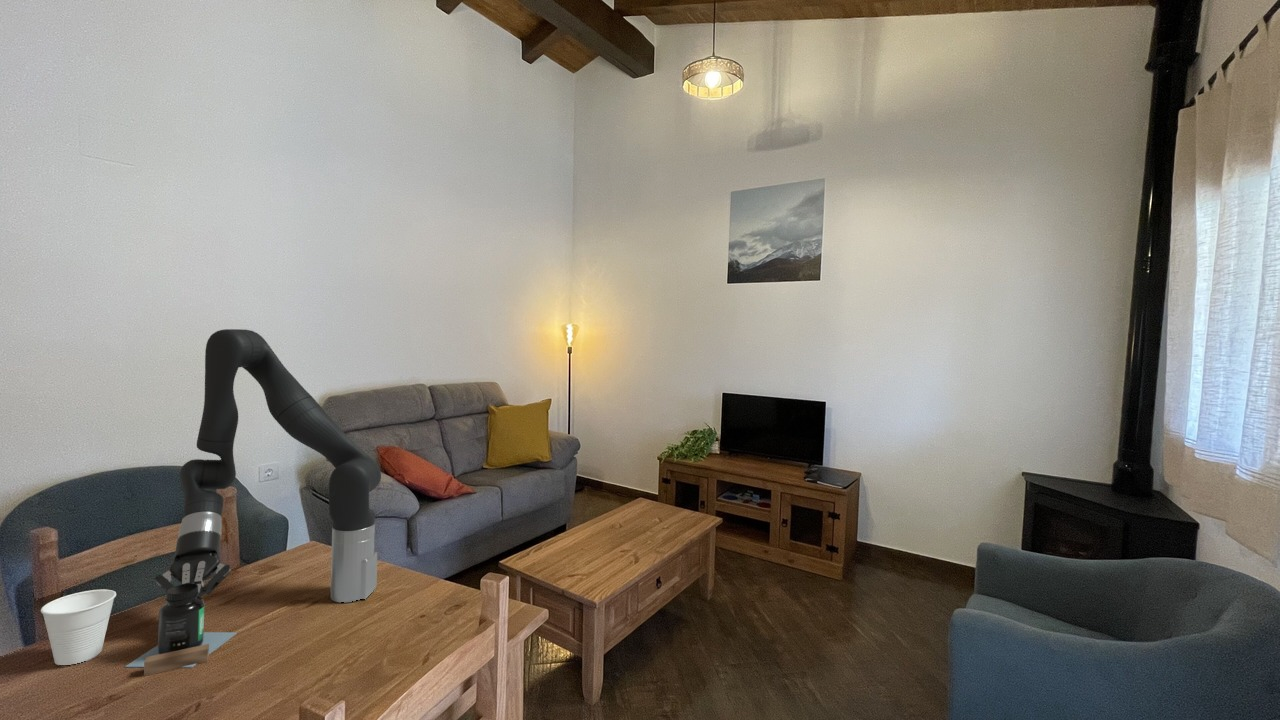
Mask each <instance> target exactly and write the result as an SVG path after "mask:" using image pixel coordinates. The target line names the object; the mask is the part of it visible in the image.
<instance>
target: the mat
mask: <svg viewBox="0 0 1280 720" xmlns="http://www.w3.org/2000/svg"><path fill="white" fill-rule="evenodd" d="M237 634H238V632H231V631H230V632H228V631H227V632H225V631H224V632H223V631H222V632H218V631H217V632H214V631H213V632H211V631H210V632H206V631H204V638H203V643H202V645H206V644H209V655H210V654H212V653H213V652H214V651H216V650H217V649H219V648H220V647H221V646H223V645H224V644H225V643H226V642H227V641H229V640H231V639H232V638H233V637H234V636H235V635H237ZM154 655H159V653H158V644H157V645H155V646H154V647H152V648H151V649H150V650H148V651H146V652H145V653H143V654H142V655H140V656H138V657H137V658H136V659H134V660H132V661H131V662H130V663H128V664H127V665H125V666H124V668H144V662H145V660H146V658H147V657H149V656H154ZM196 665H197V664H192V665H187V666H183V667H182V668H184V669H186V668H187V669H188V668H190V669H192V668H193V667H194V666H196ZM182 668H181V669H182Z"/></svg>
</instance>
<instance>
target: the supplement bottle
mask: <svg viewBox="0 0 1280 720" xmlns="http://www.w3.org/2000/svg"><path fill="white" fill-rule="evenodd" d="M165 593H166V594H165V599H164V600H165V604H163V605H162V606H161V608H160V609H159V612H158V628H157V629H158V633H157V635H158V636H157V638H158V639H157V645H158V653H159V654H164V653H168V652H173V651H178V650H182V649H187V648H192V647H196V646H201V645H202V643H203V638H204V632H205V631H204V630H205V600H204V599H203V598H202V597H197V596H198V594H199V592H198V585H197V584H194V583H191V584H183V585H182V584H178V585H176V586H174V587H173V588H171V589H169V590H168V591H167V592H165Z"/></svg>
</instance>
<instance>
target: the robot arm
mask: <svg viewBox="0 0 1280 720" xmlns="http://www.w3.org/2000/svg"><path fill="white" fill-rule="evenodd" d="M204 353H205V354H204V402H203V409H202V415H201V420H200V425H199V429H198V435H197V440H196V448H197V450H200V451H201V452H205V453H209V454H213V455H215V456H218V457H219V458H220V459H199V458H197V459H196V458H195V459H190V460H188V461H186V462H185V463H184V464H183V465H182V467H181V468H180V471H179V482H180V486H181V489H182V492H183V498H184V500H183V501H184V506H183V514H182V518H181V523H180V525H179V529H178V533H177V540H176V546H175V552H174V558H173V562H172V564H171V565H170V566H169V569H168V570H166V572H164V573H163V574H158V575H156V576H155V577H154V579H155V583H156V585H157V586H158V587H159V588H161V590H163V591H164V592H165V593H166V592H167V591H168V590H169V589H171V588H173V587H175V586H174V585H173V584H172V583H171V582H172V576H173V578H174V579H175V580H176V581H177V582H178V583H179V584H180V585H183V584H197V585H198V592H199V594H198V596H197V597H200V598H202V597H203V596H205V595H210V594H211V593H212V592H213V591H214V590H215V589H216V588H217V587H218V586H220V584H221V583H222V582H223V581H224V580H225V579H226V578H227V577H228V576H229V575H230V573H232V571H231V570H232V569H231V566H230V565H229V564H224V563H221V559H220V558H219V556H220V555H219V553H220V546H221V538H222V528H223V527H222V526H223V525H222V515H223V507H224V497H223V496H222V495H221V494H220V493H218V492H214V491H210V490H225V489H227V488H229V487H230V486H231V485H232V484H233V483H234V482H235V480H236V477H237V471H236V465H235V458H234V443H235V438H236V433H237V431H238V429H237V428H238V424H239V410H238V409H239V408H238V405H237V402H236V399H235V393H234V385H235V384H234V383H235V380H236V379H235V378H236V377H237V376H236V375H237V374H238V373H237V372H238V370H239V368H242V369H243V370H245V371H246V372H248V373H249V375H251V377H253V379H254V380H255V381H256V382H257V383H258V384H259V385H260V387H261V389H262V391H263V394H264V397H265V400H266V401H265V402H266V405H267V407H268V412H270V415H271V416H272V417H273V419H274V421H276V422H277V424H279V426H280V427H281V428H282V429H283V430H284V431H285V432H286V433H287V434H288V435H289V436H290V437H292V438H293V439H294V440H296V441H297V442H299V443H301V444H302V445H304V446H307V447H308V448H309V449H312V450H314V451H316V452H317V453H319V454H320V455H322V456H323V457H325V459H326V460H328V462H329V463H330V464H331V465H332V466H333V467H334V470H333V471H332V472H331V474H330V475H329V476H330V477H329V482H328V513H329V518H330V519H331V523H332V527H331V531H332V532H331V558H330V559H331V562H330V568H331V569H330V600H331V601H333V602H335V603H341V602H344V603H343V604H345V603H352V601H353V602H357V601H356V600H358V601H361V600H360V599H365V600H367V599H368V598H367V597H368V596H369V595H370V594H371V593H372V592H373V590H374V589H375V588H376V589H377V580H378V579H377V577H378V576H377V575H378V574H377V573H378V551H375V530H376V529H375V528H376V527H375V526H376V513H375V511H374V510H372V509H370V492H372V491H373V490H374V489H376V488H377V487H378V486H379V485H380V482H381V481H382V480H381V479H382V471H381V467H379V465H378V463H377V462H376V461H375V460H374V459H373V458H372V457H371V456H370V455H369V454H368V453H366V452H365V451H364V450H363V449H361V447H359V446H358V445H357V444H356V443H355V442H354V441H353V440H352V439H351V438H350V437H349V436H347V434H346V433H345V432H344V431H343V430H342V429H341V427H339V425H338V424H337V423H336V422H335V421H334V420H333V419H332V418H331V416H330V415H329V414H328V413H327V412H326V410H325V409H324V408H323V407H322V406H321V404H320V403H319V402H318V401H317V400H316V399H315V398H314V397H313V396H312V395H311V394H310V393H309V392H308V391H307V390H306V389H305V388H304V387H303V385H301V383H300V382H299V381H298V380H297V379H296V378H295V376H293V374H292V373H290V372H289V370H288V369H287V368H286V367H285V365H284V364H283V362H282V361H281V360H280V359H279V357H278V356H277V355H276V353H275V352H274V351H273V348H272V347H271V346H270V345H269V343H268V342H267V341H266V339H265V338H264V337H263V336H262V335H261V334H259V333H258V332H255V331H254V330H250V329H243V328H241V329H234V328H233V329H232V328H230V329H229V328H228V329H220V330H217V331H215V332H214V333H212V334H211V335H210V336H209V338H208V339H207V342H206V344H205V352H204ZM214 572H215V574H214ZM213 574H214V576H213V577H212V578H210V577H211V576H212V575H213ZM209 578H210V579H209ZM208 579H209V580H208ZM207 580H208V582H207V583H205V581H207ZM376 589H375V590H376ZM375 590H374V591H375ZM373 593H374V592H373ZM371 595H372V594H371ZM371 595H370V596H371ZM370 596H369V597H370ZM366 598H367V599H366Z"/></svg>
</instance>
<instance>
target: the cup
mask: <svg viewBox="0 0 1280 720" xmlns="http://www.w3.org/2000/svg"><path fill="white" fill-rule="evenodd" d="M116 596H117V592H116V591H115V590H111V589H107V588H104V589H92V590H84V591H80V592H75V593H72V594H68V595H64V596H62V597H59V598H56V599H54V600H52V601H49V602H47V603H46V604H45V605H43V606H42V607H41V609H40V613H41V614H42V615H43V618H44V623H45V628H46V631H47V635H48V639H49V642H50V643H49V644H50V647H51V652H52V656H53V661H54V664H55V665H57V666H59V665H71V664H76V665H78V664H77V663H80V664H82V663H81V662H83V663H85V662H84V661H86V662H88V661H90V660H93V659H94V658H96V657H97V656H98V655H99V654H100V653H101V652H102V651H103V648H104V647H103V646H104V642H105V637H106V633H107V629H108V625H109V620H110V618H111V617H110V616H111V614H112V613H111V612H112V609H113V604H114V601H115V598H116ZM71 666H72V665H71Z"/></svg>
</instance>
